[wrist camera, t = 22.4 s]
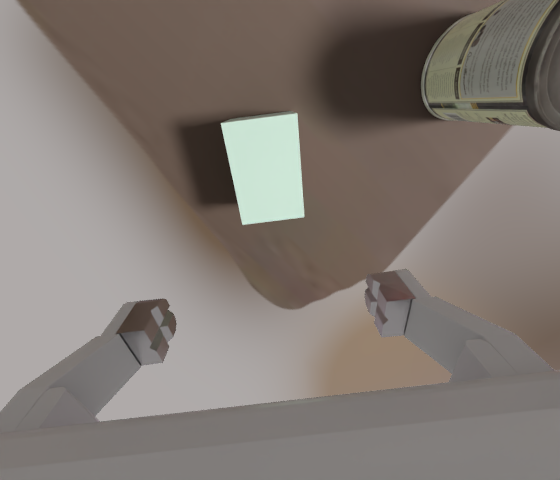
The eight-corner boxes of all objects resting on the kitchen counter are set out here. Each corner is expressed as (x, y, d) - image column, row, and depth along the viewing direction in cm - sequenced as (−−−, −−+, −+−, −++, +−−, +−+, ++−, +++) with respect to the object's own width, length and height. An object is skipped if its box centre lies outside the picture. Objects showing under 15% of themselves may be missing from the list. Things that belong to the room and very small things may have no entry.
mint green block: (230, 118, 29) (220, 123, 23) (290, 111, 29) (297, 113, 22) (246, 202, 34) (242, 224, 28) (297, 196, 34) (304, 217, 28)
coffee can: (524, -2, 25) (779, -107, 12) (500, 109, 30) (663, 113, 17) (423, 25, 25) (569, -49, 13) (416, 129, 30) (517, 146, 18)
